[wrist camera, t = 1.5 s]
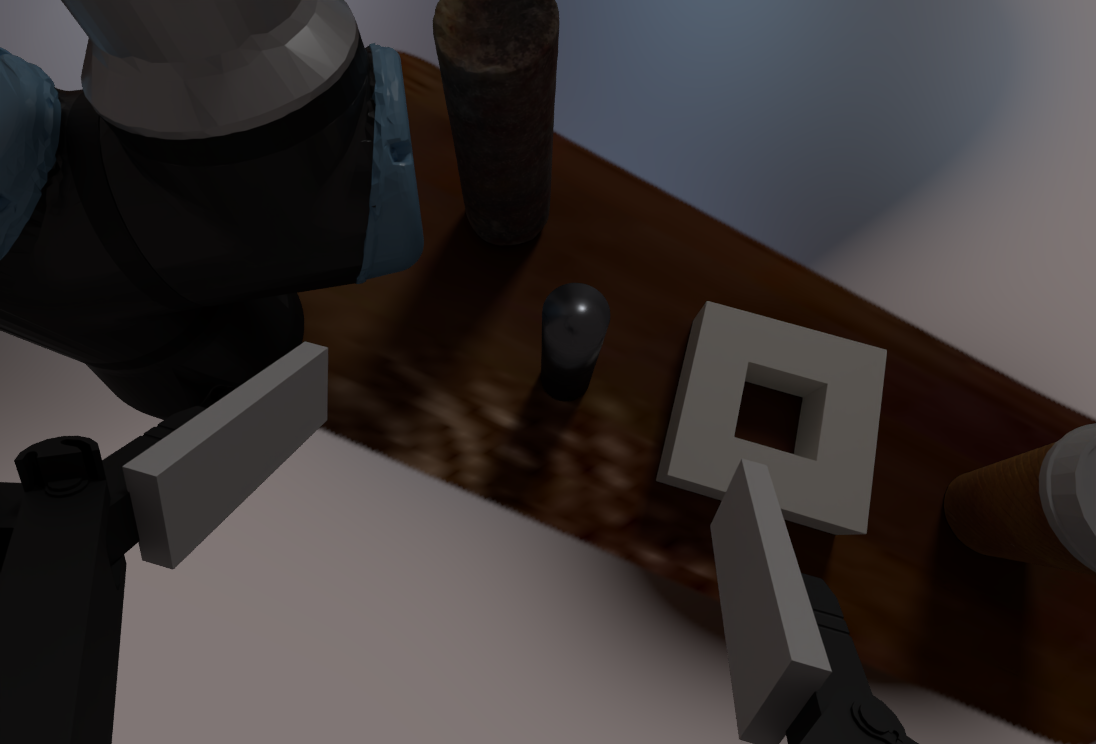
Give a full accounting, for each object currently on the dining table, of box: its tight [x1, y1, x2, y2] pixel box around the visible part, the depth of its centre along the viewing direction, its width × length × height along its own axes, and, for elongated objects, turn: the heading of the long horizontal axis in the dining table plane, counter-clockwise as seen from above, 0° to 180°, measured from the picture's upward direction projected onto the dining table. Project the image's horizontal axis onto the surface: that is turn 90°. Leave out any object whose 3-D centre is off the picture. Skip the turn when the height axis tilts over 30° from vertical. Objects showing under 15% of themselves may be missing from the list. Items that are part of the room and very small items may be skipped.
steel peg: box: [541, 283, 610, 401], centre depth 38 cm, size 4×4×13 cm
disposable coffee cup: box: [944, 424, 1096, 575], centre depth 36 cm, size 10×10×12 cm
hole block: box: [656, 301, 887, 535], centre depth 42 cm, size 14×14×4 cm
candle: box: [433, 0, 559, 246], centre depth 39 cm, size 8×7×20 cm
